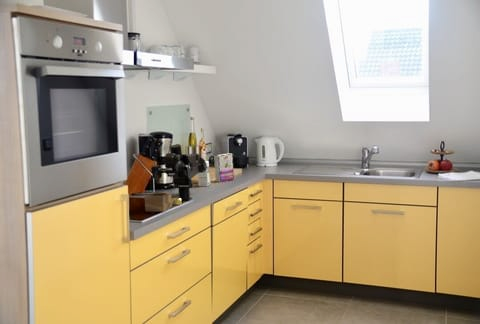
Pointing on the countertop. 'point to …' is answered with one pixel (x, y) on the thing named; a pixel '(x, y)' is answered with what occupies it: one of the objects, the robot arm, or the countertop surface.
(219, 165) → the candy bar box
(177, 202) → the token
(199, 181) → the syrup box
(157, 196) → the money box
